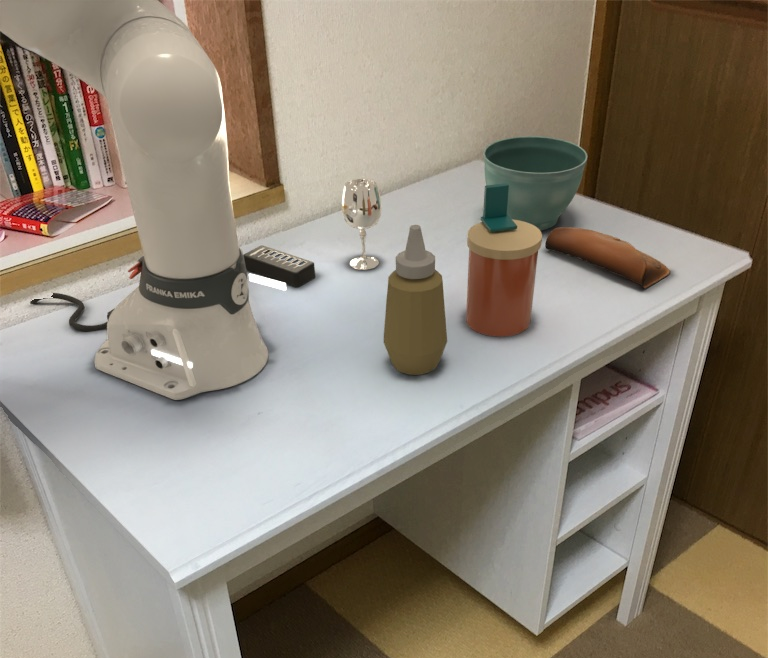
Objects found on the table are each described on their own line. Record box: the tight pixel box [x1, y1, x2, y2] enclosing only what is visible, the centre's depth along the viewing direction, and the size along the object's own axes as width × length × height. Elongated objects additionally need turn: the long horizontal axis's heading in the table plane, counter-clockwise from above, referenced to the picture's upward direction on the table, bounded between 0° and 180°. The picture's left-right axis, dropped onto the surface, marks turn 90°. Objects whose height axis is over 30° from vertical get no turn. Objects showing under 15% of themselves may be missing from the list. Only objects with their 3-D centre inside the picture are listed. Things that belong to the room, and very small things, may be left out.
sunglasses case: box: [544, 226, 672, 289], centre depth 122 cm, size 18×7×7 cm
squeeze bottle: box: [383, 224, 448, 376], centre depth 98 cm, size 8×8×18 cm
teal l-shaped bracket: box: [480, 183, 517, 232], centre depth 103 cm, size 4×4×4 cm
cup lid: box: [466, 219, 543, 260], centre depth 104 cm, size 9×9×1 cm
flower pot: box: [482, 135, 588, 231], centre depth 131 cm, size 16×16×11 cm
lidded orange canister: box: [465, 247, 539, 338], centre depth 108 cm, size 9×9×11 cm
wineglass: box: [341, 178, 382, 271], centre depth 121 cm, size 6×6×12 cm
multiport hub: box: [243, 244, 316, 289], centre depth 123 cm, size 4×11×2 cm, turn 53°
